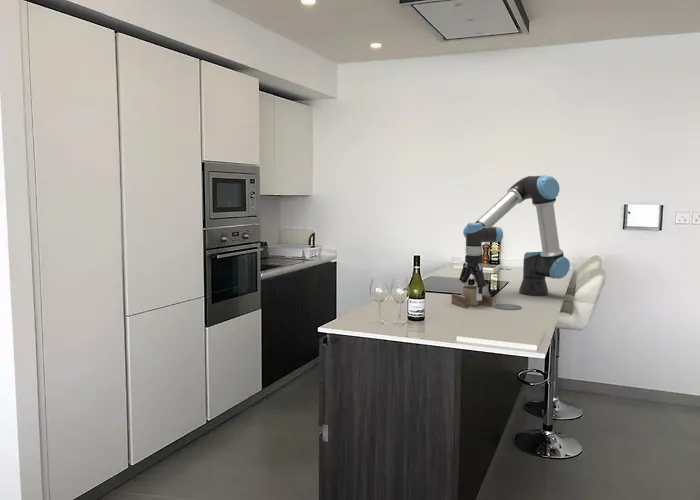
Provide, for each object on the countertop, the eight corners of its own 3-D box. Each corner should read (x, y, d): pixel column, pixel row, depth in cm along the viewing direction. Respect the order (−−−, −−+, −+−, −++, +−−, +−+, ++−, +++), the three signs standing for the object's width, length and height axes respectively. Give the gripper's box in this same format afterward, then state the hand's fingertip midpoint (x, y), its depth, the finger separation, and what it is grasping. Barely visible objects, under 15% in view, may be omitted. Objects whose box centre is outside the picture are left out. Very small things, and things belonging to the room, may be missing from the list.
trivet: (511, 304, 293) (511, 303, 293) (527, 309, 281) (527, 308, 280) (488, 305, 288) (488, 304, 288) (503, 310, 276) (503, 309, 276)
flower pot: (481, 307, 284) (482, 289, 283) (461, 306, 286) (462, 288, 285) (481, 303, 293) (481, 286, 293) (461, 302, 295) (462, 285, 294)
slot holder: (477, 301, 298) (478, 292, 298) (492, 306, 286) (492, 297, 286) (451, 303, 293) (451, 294, 293) (465, 308, 281) (465, 298, 281)
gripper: (453, 252, 298) (451, 293, 300) (480, 257, 274) (478, 302, 276) (466, 252, 300) (464, 293, 302) (494, 257, 277) (492, 302, 279)
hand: (471, 298), depth 289 cm, fingers open, 13 cm apart
